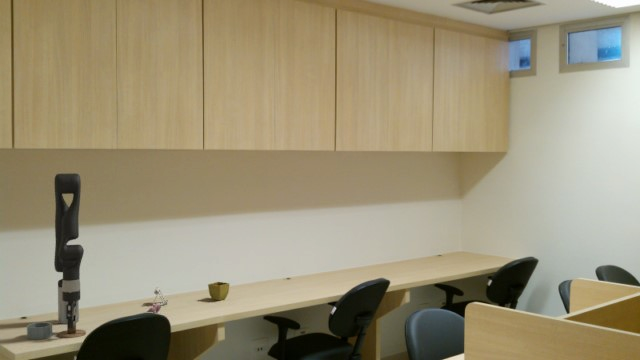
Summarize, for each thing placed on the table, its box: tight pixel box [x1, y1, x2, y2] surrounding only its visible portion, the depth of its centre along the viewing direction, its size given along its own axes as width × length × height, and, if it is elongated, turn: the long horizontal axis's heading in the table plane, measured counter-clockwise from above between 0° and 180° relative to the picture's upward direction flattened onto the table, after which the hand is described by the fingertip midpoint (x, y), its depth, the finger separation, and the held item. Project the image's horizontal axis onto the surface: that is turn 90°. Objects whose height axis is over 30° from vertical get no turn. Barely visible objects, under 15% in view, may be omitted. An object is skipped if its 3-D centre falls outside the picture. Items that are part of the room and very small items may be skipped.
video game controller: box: [146, 303, 162, 314], centre depth 328 cm, size 10×5×7 cm, turn 170°
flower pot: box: [207, 281, 230, 301], centre depth 366 cm, size 9×9×9 cm
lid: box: [57, 321, 87, 339], centre depth 293 cm, size 12×12×6 cm
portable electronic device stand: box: [152, 287, 169, 306], centre depth 355 cm, size 9×8×8 cm
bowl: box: [26, 321, 53, 340], centre depth 290 cm, size 10×10×5 cm
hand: (71, 325), depth 292 cm, fingers open, 8 cm apart
